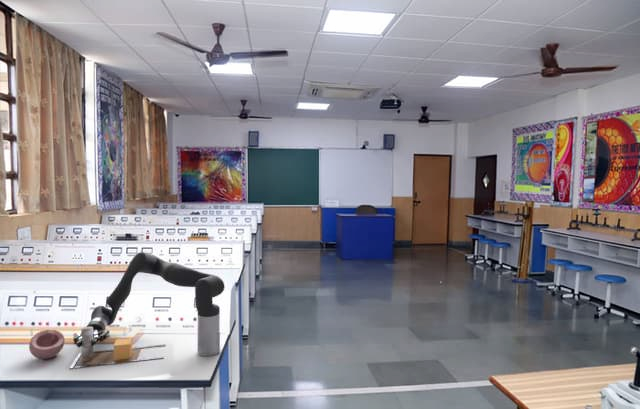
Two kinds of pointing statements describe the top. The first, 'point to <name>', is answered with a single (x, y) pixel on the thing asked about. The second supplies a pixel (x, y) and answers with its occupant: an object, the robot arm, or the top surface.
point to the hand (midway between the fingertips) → (85, 344)
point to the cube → (123, 349)
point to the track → (115, 362)
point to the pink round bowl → (46, 344)
